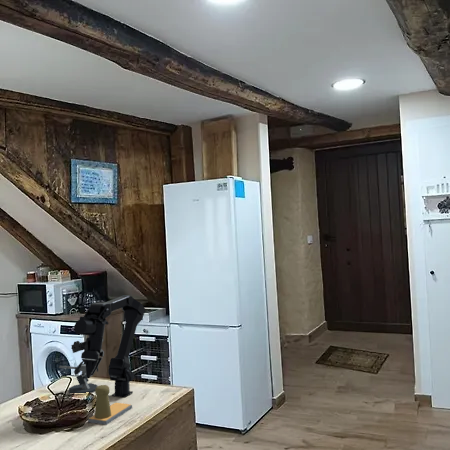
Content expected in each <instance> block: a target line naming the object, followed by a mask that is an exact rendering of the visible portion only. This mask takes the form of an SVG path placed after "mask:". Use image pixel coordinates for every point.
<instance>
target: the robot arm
mask: <svg viewBox="0 0 450 450" xmlns="http://www.w3.org/2000/svg"><path fill="white" fill-rule="evenodd" d="M145 308H146V307H145V306H144V305H143V304H142V303H141V302H140V301H138V300H136V299H135V298H134V296H131V295H119V296H118V297H116V298H112V299H111V300H108V301H105V302H93V303H91V304H90V306H89V308H88V309H87V310H86V312H85V313H84V315H83V316H79V319H78V320H77V321H76V322H75V324H74V327H73V330H74V333H75V334H76V335H79V336H87V338H86V339H85V341H82V342H80V341H79V340H77V341H74V342H73V344H71V345H70V346H71V349H72V350H71V351H72V354H75V353H78V352H81V351H83V352H81V356H80V358H81V360H82V361H84V362H83V363H85V364H86V377H87V378H88V379H90V378H91V377H93V376H94V375H95V373H96V372H97V367H98V368H99V365H100V363H101V362H102V360H103V357H104V355H105V351H104V350H103V349H102V348H103V342H104V335H105V327H106V325H109V322H108V321H107V319H106V318H108V317H110V316H111V315H112V313H113V312H115V311H117V310H120V309H121V310H122V311H123V312H124V313H123V318H124V321H125V323H124V324H125V325H124V327H123V330H122V331H123V332H122V335H121V339H120V343H119V345H118V346H119V347H118V350H117V354H116V356H114V357H111V358H110V362H109V365H108V367H107V368H108V369H107V370H108V371H107V372H108V376H109V379H110V381H114V393H112V394H111V396H112V397H116V398H117V397H118V398H126V397H128V396H131V394H133V393H134V391H133V390H132V391H131V389H130V382H133V380H134V379H135V378H134V377H135V373H134V371H132V369H131V362H130V357H129V356H130V354H131V349H132V346H133V341H134V339H135V336H136V335H135V334H136V331H137V326H138V325H139V324H140V323H141V321H142V320H143V318H144V316H145V313H146V309H145Z"/></svg>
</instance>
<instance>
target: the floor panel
mask: <svg viewBox="0 0 450 450" xmlns="http://www.w3.org/2000/svg"><path fill="white" fill-rule="evenodd" d="M110 409H111V416H110V417H108V418H105V419H97V418H95V414H94V415H92V416H90V417H89V418H87V422H88V423H91V424H92V423H93V424H99V425H106V426H107V425H108V424H110V423H111V422H113V421H115V420H116V419H117V418H120V416H122V415H124V414H125V413H127V412H129V411H131V409H133V405H132V404H131V403H122V402H113V403H112V404H110ZM114 419H115V420H114Z"/></svg>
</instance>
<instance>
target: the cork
mask: <svg viewBox="0 0 450 450" xmlns="http://www.w3.org/2000/svg"><path fill="white" fill-rule="evenodd" d="M94 393H95V396H96V400H95V411H94V415H95V418H97V419H105V418H108V417H110V416H111V409H110V405H111V404H110V398H109V397H110V396H109V393H110V387H109V386H108V385H106V384H100V385H97V387H96V389H95V392H94Z"/></svg>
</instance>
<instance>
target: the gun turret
mask: <svg viewBox="0 0 450 450" xmlns="http://www.w3.org/2000/svg"><path fill="white" fill-rule="evenodd" d="M58 369H69V370H73V373H74V375H75V376H76V375H77V376H76V380H77V383H78V384H75V385H72V386H70V387H69V388H68V394H70V393H86V392H89V394H93V393H95V389H96V387H97V386H98V384H94V383H88V382H89V381H90V380H89V378H87V377H86V364H85V363H84V361H83V360H82V361H81V362H80V363H79V364H78V365H77V366H69V365H68V366H67V365H59V366H58ZM96 372H99V366H98V367H97V369H96ZM80 373H81V374H80Z"/></svg>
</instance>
